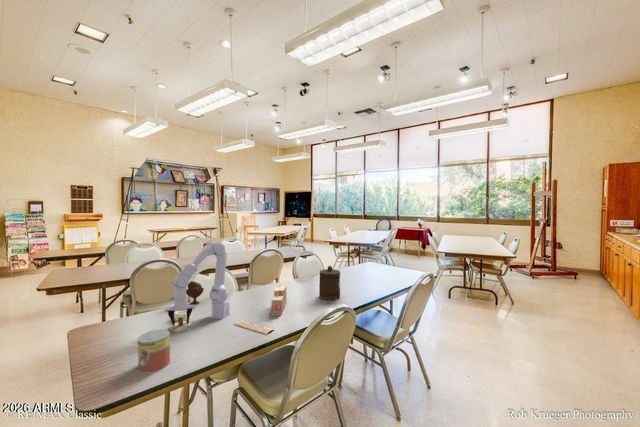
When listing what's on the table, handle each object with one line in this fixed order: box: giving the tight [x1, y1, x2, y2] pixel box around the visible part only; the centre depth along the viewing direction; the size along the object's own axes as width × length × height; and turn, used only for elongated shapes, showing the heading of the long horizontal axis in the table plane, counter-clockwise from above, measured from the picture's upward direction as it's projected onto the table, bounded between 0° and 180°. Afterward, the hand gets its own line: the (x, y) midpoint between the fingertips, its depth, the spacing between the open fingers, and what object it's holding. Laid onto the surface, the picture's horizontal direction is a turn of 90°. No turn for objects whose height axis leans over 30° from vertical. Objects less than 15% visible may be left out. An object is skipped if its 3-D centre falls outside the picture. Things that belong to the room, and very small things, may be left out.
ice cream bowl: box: [186, 281, 205, 306], centre depth 188 cm, size 11×11×15 cm
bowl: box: [174, 309, 194, 322], centre depth 162 cm, size 9×9×4 cm
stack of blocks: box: [270, 284, 288, 316], centre depth 178 cm, size 21×6×12 cm, turn 179°
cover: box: [168, 317, 193, 333], centre depth 150 cm, size 11×11×5 cm
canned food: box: [137, 329, 171, 374], centre depth 116 cm, size 11×11×12 cm
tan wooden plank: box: [233, 319, 275, 336], centre depth 152 cm, size 24×7×2 cm, turn 59°
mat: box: [166, 321, 195, 334], centre depth 150 cm, size 12×12×1 cm
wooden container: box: [318, 265, 341, 301], centre depth 203 cm, size 15×15×22 cm
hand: (180, 323), depth 150 cm, fingers open, 6 cm apart
